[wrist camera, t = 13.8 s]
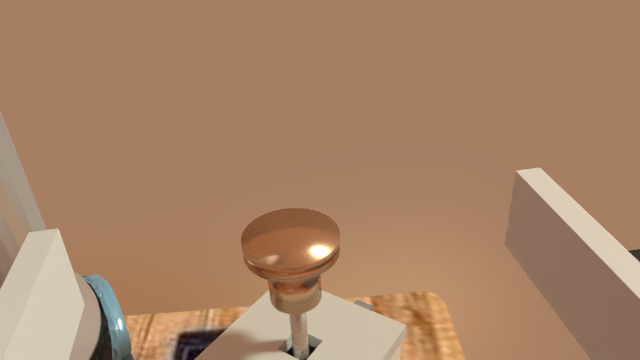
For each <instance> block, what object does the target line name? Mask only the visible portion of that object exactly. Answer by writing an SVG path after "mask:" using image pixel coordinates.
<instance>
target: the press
mask: <svg viewBox="0 0 640 360" xmlns="http://www.w3.org/2000/svg"><path fill="white" fill-rule="evenodd" d="M306 319H307V331H308V344H309V358H308V359H307V360H400V345H401V343H402V342H403V340H404V339H405V337H406V326H407V325H405V324H402V323H400V322H397V321H395V320H392V319H390V318H388V317H385V316H383V315H380V314H378V313H376V312H373V306H371V305H369V304H367V303H364V302H362V301H359V300H356V301H355V303H351V302H349V301H347V300H344V299H342V298H339V297H337V296H335V295H332V294H330V293H327V292H325V291H322V297H321V300H320V302H319V304H318V305H317V306H316V307H315V308H313V309H312V310H310V311H308V312H306ZM195 360H299V359H297V358H295V357H293V347H292V337H291V327H290V317H289V314H286V313H283V312H280V311H278V310H277V309H275V308H274V307H273V305H272V304H271V301H270V293H269V290H268V291H267V292H266V293H265V294H264V295H263V296H262V297H261V298H260V299H259V300H258V301H257V302H255V304H253V305H252V306H251V307H250V308H249V309H248V310H247V311H246V312H245V313H244V314H243V315H242V316H240V317H239V318H238V319H237V320H236V321H235V322H234V323H233V324H232V325H231V326H230V327H229V328H228V329H227V330H225V331H224V332H223V333H222V334H221V335H220V336H219V337H218V338H217V339H216V340H215V341H214V342H213V343H212V344H211V345H209V346H208V347H207V348H206V349H205V350H204V351H203V352H202V353H201V354H200V355H199V356H198V357H197V358H196V359H195Z"/></svg>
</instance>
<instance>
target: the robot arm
mask: <svg viewBox="0 0 640 360" xmlns="http://www.w3.org/2000/svg"><path fill="white" fill-rule="evenodd" d="M505 246H506V247H507V249H508V250H509V251H510V253H511V254H512V255H513V257H514V258H515V259H516V261H517V262H518V263H519V265H520V266H521V267H522V269H523V270H524V271H525V273H526V274H527V275H528V277H529V278H530V279H531V281H532V282H533V283H534V285H535V286H536V287H537V288H538V290H539V291H540V293H541V294H542V295H543V296H544V298H545V299H546V301H547V302H548V303H549V305H550V306H551V307H552V308H553V310H554V311H555V312H556V314H557V315H558V316H559V318H560V319H561V320H562V322H563V323H564V324H565V326H566V327H567V328H568V330H569V331H570V332H571V334H572V335H573V336H574V338H575V339H576V340H577V342H578V343H579V344H580V346H581V347H582V348H583V350H584V351H585V352H586V354H587V355H588V356H589V358H590V359H591V360H640V249H638V250H631V251H627V250H626V249H625V248H624V247H623V246H622V245H621V244H620V243H619V242H618V241H617V240H616V239H615V238H614V237H612V235H610V234H609V233H608V232H607V231H606V230H605V229H604V228H603V227H602V226H601V225H600V224H599V223H598V222H597V221H596V220H595V219H593V218H592V217H591V216H590V215H589V214H588V213H587V212H586V211H585V210H584V209H583V208H582V207H581V206H580V205H579V204H578V203H577V202H576V201H574V200H573V199H572V198H571V197H570V196H569V195H568V194H567V193H566V192H565V191H564V190H563V189H562V188H561V187H560V186H559V185H557V184H556V183H555V182H554V181H553V180H552V179H551V178H550V177H549V176H548V175H547V174H546V173H545V172H544V171H543V170H542V169H541V168H534V169H526V170H519V171H516V173H515V180H514V186H513V193H512V199H511V206H510V213H509V219H508V226H507V232H506V239H505ZM131 350H132V349H131V342H130V338H129V334H128V331H127V327H126V324H125V320H124V317H123V314H122V311H121V309H120V306H119V303H118V301H117V299H116V296H115V294H114V292H113V290H112V288H111V286H110V285H109V283H108V282H107V281H106V280H105V279H104V278H102V277H101V276H99V275H90V276H80V275H78V274H77V273H76V272H74V271H73V269H72V267H71V264H70V261H69V258H68V255H67V252H66V249H65V247H64V244H63V241H62V238H61V235H60V232H59V229H52V230H46V227H45V225H44V222H43V220H42V217H41V214H40V212H39V209H38V207H37V204H36V201H35V199H34V196H33V193H32V191H31V188H30V186H29V183H28V180H27V178H26V175H25V173H24V170H23V167H22V165H21V162H20V160H19V157H18V154H17V152H16V149H15V147H14V144H13V141H12V139H11V136H10V134H9V131H8V128H7V126H6V123H5V121H4V118H3V115H2V113H1V110H0V360H134V359H133V356H132V354H131Z"/></svg>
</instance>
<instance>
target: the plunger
mask: <svg viewBox="0 0 640 360" xmlns="http://www.w3.org/2000/svg"><path fill="white" fill-rule="evenodd" d="M241 245H242V252H243V258H244V262H245V264H246V266H247V267H248V268H249V269H250V270H251V271H252V272H253V273H254V274H256V275H258V276H260V277H262V278H265V279H267V280H268V285H269V293H270V301H271V304H272V305H273V307H274V308H275V309H277V310H278V311H280V312H283V313H286V314H289V317H290V327H291V337H292V347H293V357H295V358H297V359H299V360H307V359H308V358H309V344H308V331H307V319H306V312H308V311H310V310H312V309H313V308H315V307H316V306H317V305H318V304H319V302H320V300H321V297H322V290H321V273H324V272H325V271H327V270H328V269H329V268H330V267H332V265H333V264H334V263H335V262H336V260H337V259H338V257H339V254H340V233H339V228H338V226H337V224H336V223H335V222H334V221H333V220H332V219H331V218H330V217H328V216H327V215H325V214H323V213H320V212H318V211H314V210H310V209H302V208H290V209H282V210H277V211H273V212H270V213H267V214H265V215H262V216H260V217H258V218H257V219H255V220H254V221H252V222H251V223H250V224H249V225H248V226H247V227H246V228H245V230H244V232H243V234H242V237H241Z"/></svg>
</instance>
